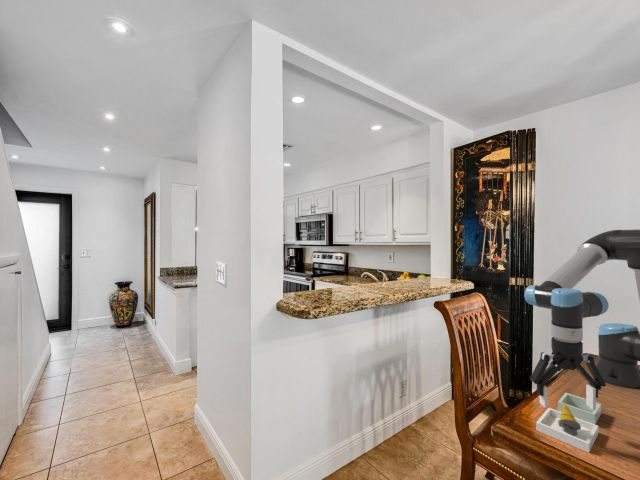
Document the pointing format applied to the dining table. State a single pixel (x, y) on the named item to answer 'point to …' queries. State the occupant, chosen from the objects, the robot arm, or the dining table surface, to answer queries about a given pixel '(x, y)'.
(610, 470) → the dining table surface
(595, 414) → the pale green square frame
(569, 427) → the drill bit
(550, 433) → the tray
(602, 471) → the dining table surface
